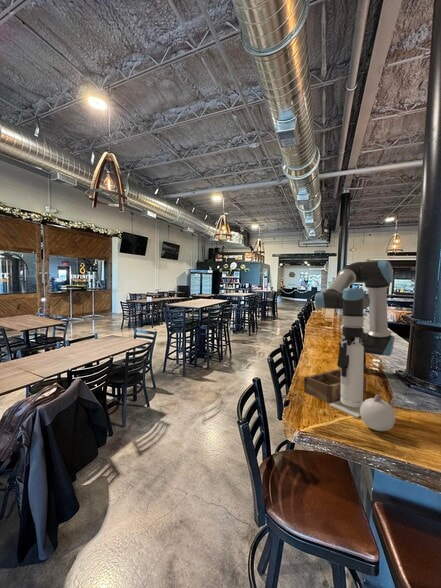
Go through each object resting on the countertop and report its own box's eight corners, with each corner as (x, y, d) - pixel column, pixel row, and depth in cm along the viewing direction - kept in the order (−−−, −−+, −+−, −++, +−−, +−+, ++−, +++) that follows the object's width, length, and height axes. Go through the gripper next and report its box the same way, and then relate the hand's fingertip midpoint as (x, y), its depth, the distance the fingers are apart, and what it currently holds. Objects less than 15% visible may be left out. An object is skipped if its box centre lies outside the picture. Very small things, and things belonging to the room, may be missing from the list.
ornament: (381, 440, 83) (382, 403, 83) (353, 424, 93) (354, 391, 92) (401, 433, 87) (402, 397, 87) (373, 419, 97) (373, 387, 97)
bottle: (337, 402, 105) (338, 333, 105) (344, 396, 111) (345, 331, 111) (359, 409, 100) (360, 336, 99) (365, 402, 106) (366, 333, 105)
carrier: (339, 382, 135) (339, 368, 135) (366, 391, 123) (366, 376, 123) (304, 392, 122) (304, 377, 122) (330, 403, 110) (330, 387, 110)
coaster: (346, 399, 114) (346, 398, 114) (374, 410, 104) (374, 409, 104) (328, 405, 108) (328, 404, 108) (356, 418, 98) (356, 416, 98)
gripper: (359, 323, 113) (358, 375, 114) (327, 327, 103) (326, 384, 103) (376, 325, 107) (375, 380, 107) (345, 329, 97) (344, 390, 97)
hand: (351, 382), depth 105 cm, fingers closed on bottle, 8 cm apart
